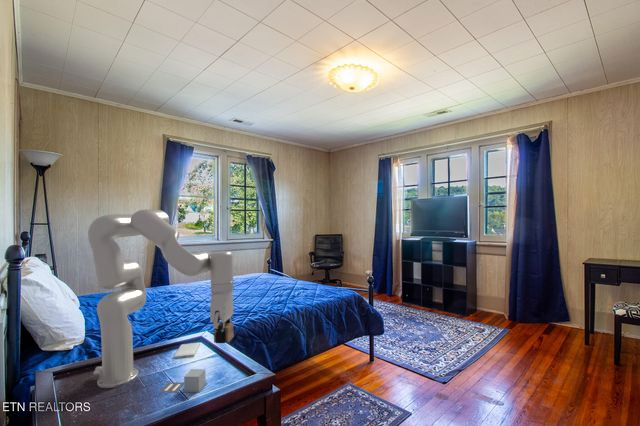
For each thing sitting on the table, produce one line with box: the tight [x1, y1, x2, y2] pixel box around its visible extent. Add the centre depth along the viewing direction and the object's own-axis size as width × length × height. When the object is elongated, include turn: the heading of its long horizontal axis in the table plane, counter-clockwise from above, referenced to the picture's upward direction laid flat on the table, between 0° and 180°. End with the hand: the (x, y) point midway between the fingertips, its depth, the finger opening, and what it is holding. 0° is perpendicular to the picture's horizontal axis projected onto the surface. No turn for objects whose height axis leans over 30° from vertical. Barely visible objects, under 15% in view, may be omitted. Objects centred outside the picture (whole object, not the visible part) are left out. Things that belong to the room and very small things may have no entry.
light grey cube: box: [183, 368, 207, 392], centre depth 106 cm, size 5×5×5 cm
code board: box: [159, 381, 208, 394], centre depth 106 cm, size 16×10×1 cm, turn 86°
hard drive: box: [173, 342, 201, 360], centre depth 137 cm, size 2×8×12 cm
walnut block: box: [213, 322, 235, 344], centre depth 109 cm, size 5×5×5 cm
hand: (224, 338), depth 109 cm, fingers closed on walnut block, 5 cm apart
